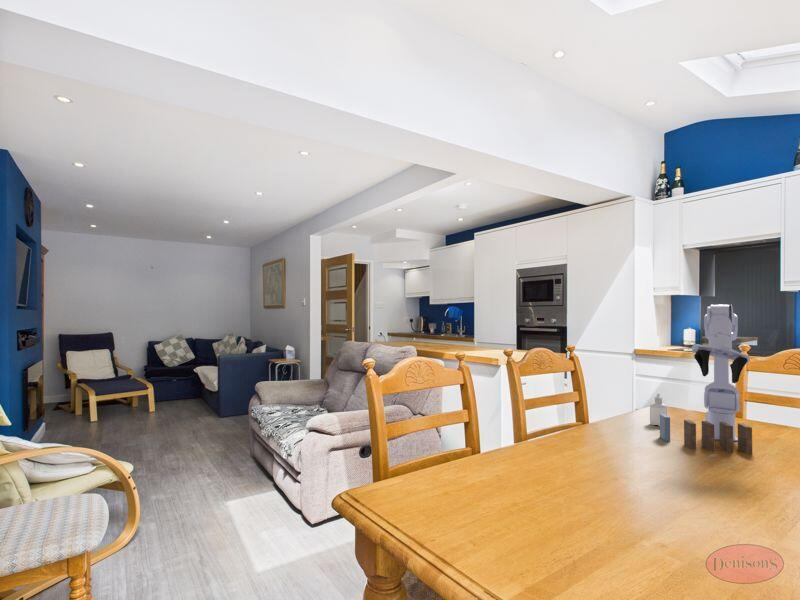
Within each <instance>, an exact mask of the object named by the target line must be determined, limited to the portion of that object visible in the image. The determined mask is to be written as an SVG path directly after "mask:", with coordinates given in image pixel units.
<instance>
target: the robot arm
mask: <svg viewBox="0 0 800 600" xmlns="http://www.w3.org/2000/svg"><path fill="white" fill-rule="evenodd" d="M733 309H734V308H733V306H732V304H722V303H718V304H710V306H707V308H706V314H705V315H704V316H703V317H704V318H703V322H704V323H703V325H704V327H703V329H704V336H705V338H706V339H707V340H708V344H707V345H706V344H696V343H693V345H692V346H691V352H692V353H694V355H693V356H694V359H695V361H696V362H697V364H698V366H699V368H700V371H701V373H702V374H701V375H702V376H703V377H707V376H708V374H709V371H710V369H709V368H710V366H709V365H710V364H709V363H710V362H709V361H710V356H711V357H713V381H712V382H711V383H709V384H706V385H705V387H704V392H703V402H704V403H703V405H704V408H705V409H706V410H707V409H708V410H707V411H706V412H705V416H704V421H708V422H710V423H712V424H713V425H714V440H719V441H720V433H719V422H726V423H728V424H730V425H731V426H733V442H735V441H736V442H738V436H736V413H739V412H740V410H741V409H740V408H741V406H740V405H741V403H740V401H741V400H740V391H739V389H738V387H736V386H734V385H733V384H736V383H738V382H739V379H740V376H741V374H742V370H743V369H744V367H745V365H747V364H748V363H750V362H751V356H750V355H748V354H745V353H742V352H740V351H737V350H735V349H733V342H734V341H736V340H737V337H738V330H739V318H738V315H737V314H736V313H735V312H734V311H733ZM729 360H732V363H730V364H729ZM729 366H730V368H729ZM729 369H730V371H731V383H732V384H731V383H730V381H729V374H730V373H729V372H730V371H729Z"/></svg>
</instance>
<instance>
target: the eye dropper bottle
mask: <svg viewBox="0 0 800 600" xmlns="http://www.w3.org/2000/svg"><path fill="white" fill-rule="evenodd" d="M660 414H666V415H667V416H668V406H667V405H666V404H664V403H663V397H661V396H660V393H657V394H656V396H654V402H652V403H650V404H649V424H650V425H651V426H654V425H658V426H657V427H660Z"/></svg>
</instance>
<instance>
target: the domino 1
mask: <svg viewBox="0 0 800 600" xmlns="http://www.w3.org/2000/svg"><path fill="white" fill-rule="evenodd" d="M660 437H661V438H660ZM659 438H660V439H662V440H663V441H664V442H667V441H670V442H671V417H670V416H669V415H668V414H667V415H666V414H660V426H659Z"/></svg>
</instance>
